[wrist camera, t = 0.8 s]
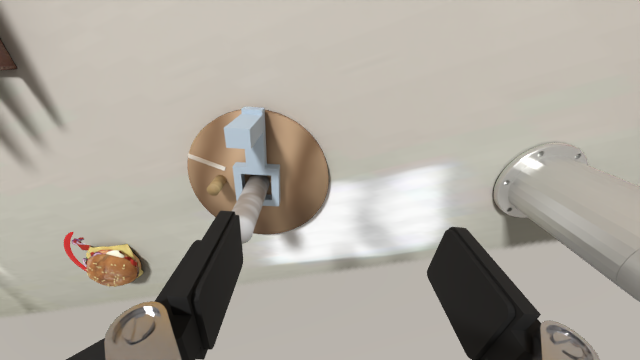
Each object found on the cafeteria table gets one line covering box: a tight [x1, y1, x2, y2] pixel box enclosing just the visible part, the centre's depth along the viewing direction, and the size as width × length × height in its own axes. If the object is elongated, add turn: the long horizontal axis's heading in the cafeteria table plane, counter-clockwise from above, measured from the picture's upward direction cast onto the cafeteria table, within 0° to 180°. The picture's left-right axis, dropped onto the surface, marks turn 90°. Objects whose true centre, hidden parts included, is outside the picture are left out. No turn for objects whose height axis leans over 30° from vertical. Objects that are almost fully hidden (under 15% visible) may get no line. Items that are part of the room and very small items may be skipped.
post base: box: [188, 110, 329, 243], centre depth 29 cm, size 20×20×12 cm
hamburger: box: [64, 232, 143, 287], centre depth 39 cm, size 14×14×6 cm
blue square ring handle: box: [224, 107, 280, 206], centre depth 28 cm, size 14×6×8 cm, turn 176°
